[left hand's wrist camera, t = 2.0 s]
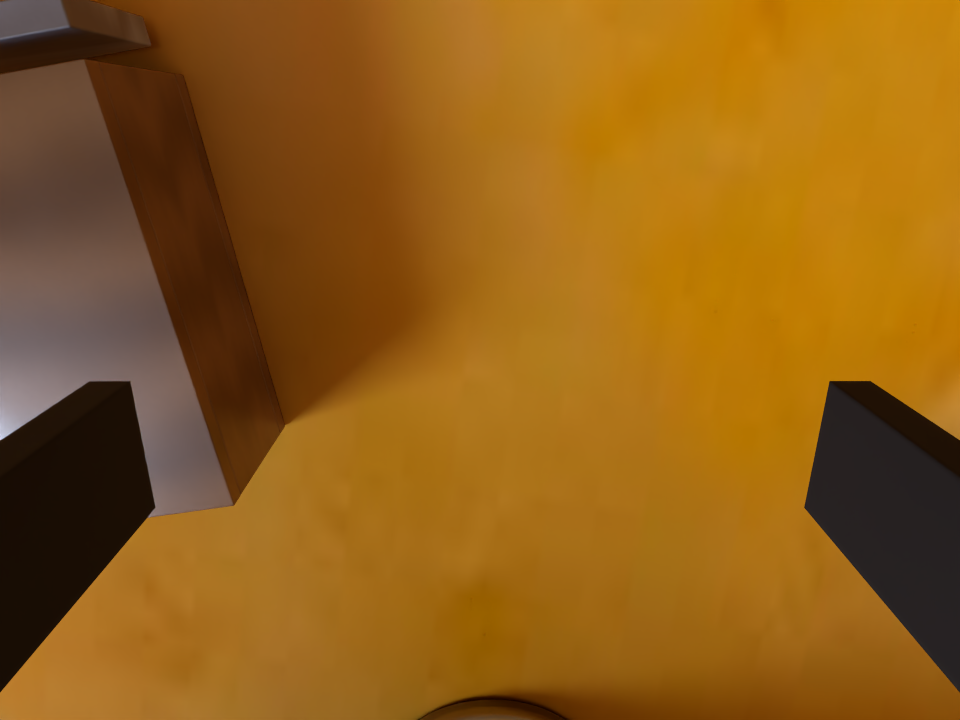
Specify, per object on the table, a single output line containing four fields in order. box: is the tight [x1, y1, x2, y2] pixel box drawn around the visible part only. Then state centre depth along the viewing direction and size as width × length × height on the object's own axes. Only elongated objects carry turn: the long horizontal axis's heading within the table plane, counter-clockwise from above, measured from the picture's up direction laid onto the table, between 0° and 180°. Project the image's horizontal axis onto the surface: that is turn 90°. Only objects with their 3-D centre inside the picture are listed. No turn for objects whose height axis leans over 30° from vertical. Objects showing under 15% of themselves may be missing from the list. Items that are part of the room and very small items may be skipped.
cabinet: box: [0, 59, 285, 518], centre depth 30 cm, size 18×11×8 cm, turn 9°
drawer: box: [0, 0, 151, 74], centre depth 28 cm, size 23×10×6 cm, turn 9°
